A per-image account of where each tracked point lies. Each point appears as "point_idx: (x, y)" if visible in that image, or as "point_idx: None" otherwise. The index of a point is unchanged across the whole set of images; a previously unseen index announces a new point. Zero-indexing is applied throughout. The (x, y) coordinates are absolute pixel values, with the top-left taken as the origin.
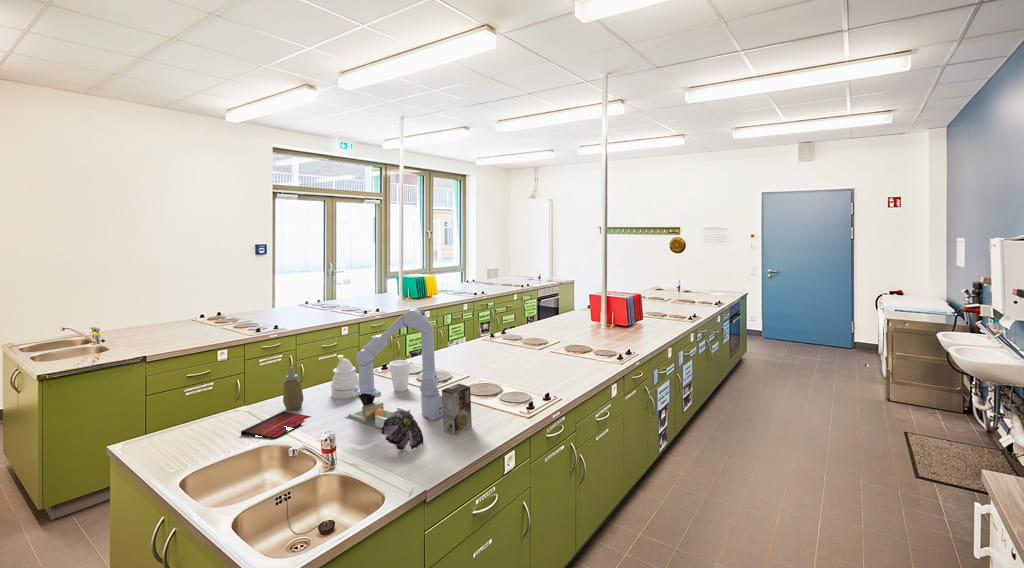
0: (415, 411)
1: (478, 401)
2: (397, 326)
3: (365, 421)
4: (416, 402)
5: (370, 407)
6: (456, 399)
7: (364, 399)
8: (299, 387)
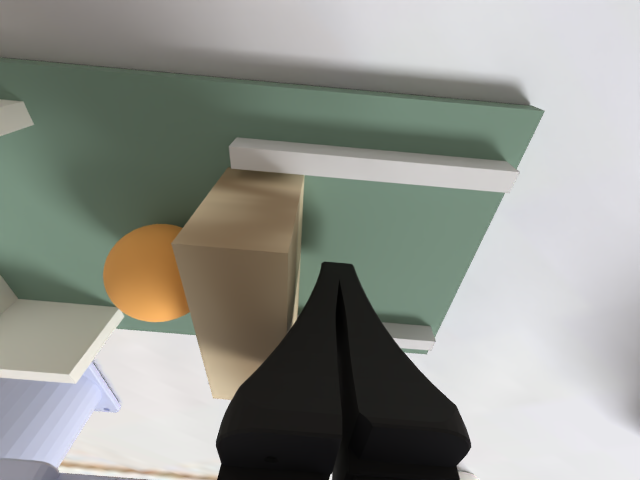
0: (164, 381)
1: (86, 472)
2: None
3: (225, 141)
4: None
5: (187, 284)
6: None
7: (294, 378)
8: None
